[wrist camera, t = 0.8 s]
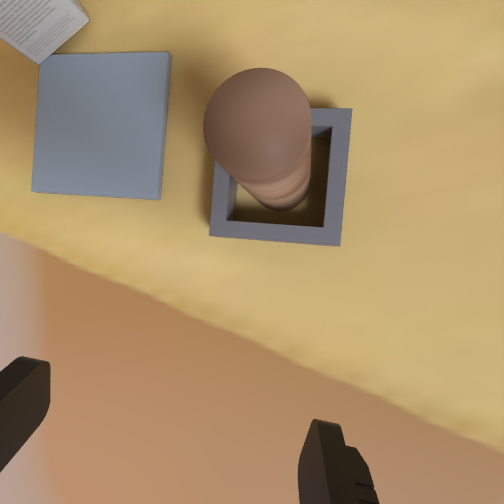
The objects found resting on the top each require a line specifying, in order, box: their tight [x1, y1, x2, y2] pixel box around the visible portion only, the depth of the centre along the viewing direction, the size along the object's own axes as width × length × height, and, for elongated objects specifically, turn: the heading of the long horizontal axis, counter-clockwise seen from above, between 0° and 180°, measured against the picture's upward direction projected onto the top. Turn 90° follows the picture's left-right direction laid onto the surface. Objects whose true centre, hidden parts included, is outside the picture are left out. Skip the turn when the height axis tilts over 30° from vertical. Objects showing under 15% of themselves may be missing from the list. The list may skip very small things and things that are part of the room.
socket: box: [209, 108, 352, 246], centre depth 24 cm, size 9×9×2 cm
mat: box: [31, 52, 171, 200], centre depth 28 cm, size 12×12×1 cm
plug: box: [203, 68, 311, 211], centre depth 19 cm, size 5×5×12 cm
